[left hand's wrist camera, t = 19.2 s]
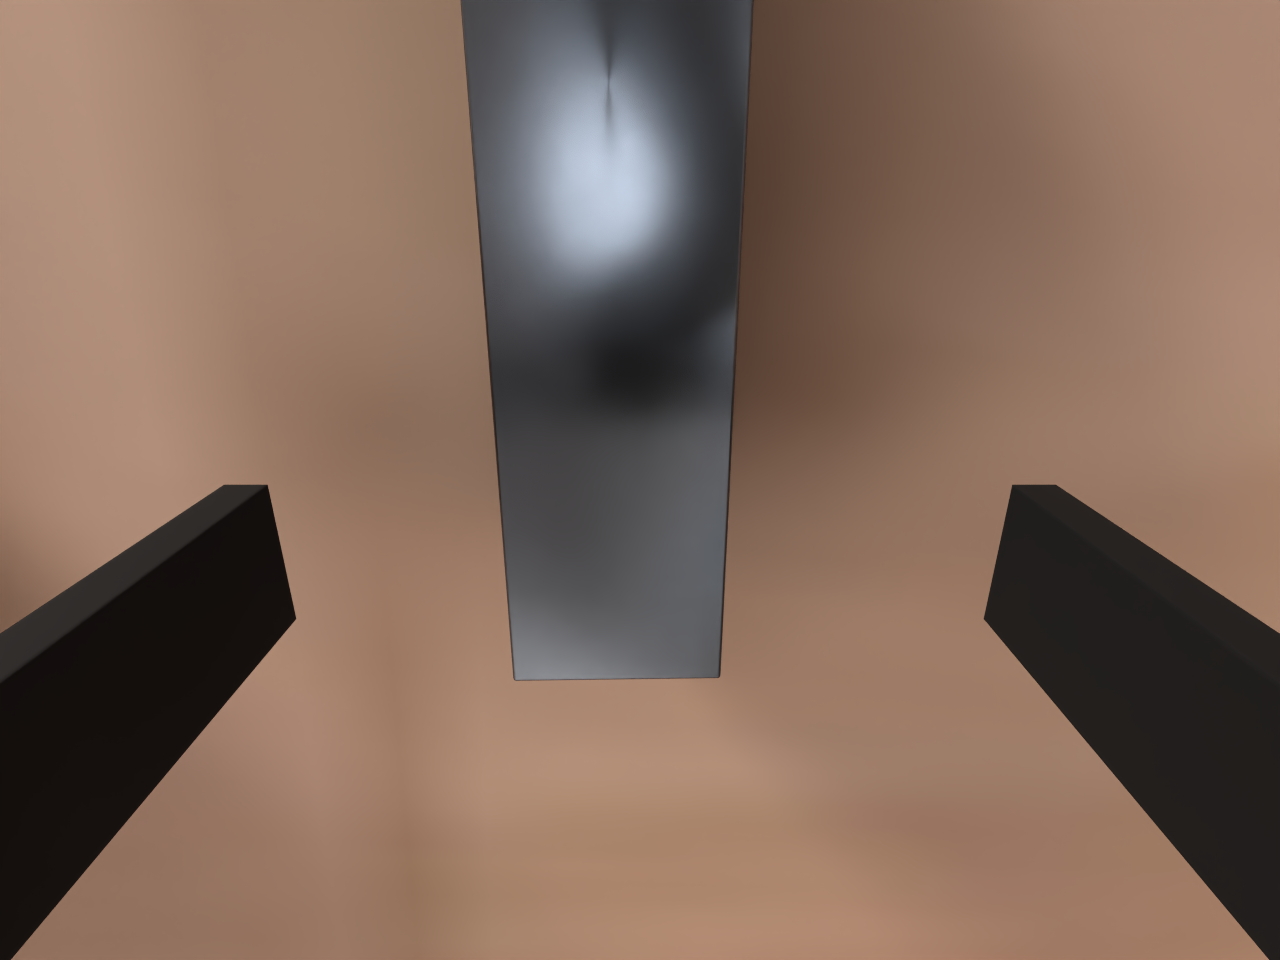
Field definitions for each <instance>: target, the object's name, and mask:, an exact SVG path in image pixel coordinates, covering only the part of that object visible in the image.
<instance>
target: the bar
mask: <svg viewBox="0 0 1280 960" xmlns="http://www.w3.org/2000/svg"><path fill="white" fill-rule="evenodd" d="M753 6H754V0H461V12H462V25H463V38H464V51H465V64H466V76H467V89H468V102H469V115H470V128H471V140H472V153H473V166H474V179H475V192H476V204H477V217H478V230H479V243H480V256H481V268H482V281H483V294H484V307H485V320H486V332H487V345H488V358H489V371H490V384H491V397H492V409H493V422H494V435H495V448H496V461H497V473H498V486H499V499H500V512H501V525H502V537H503V550H504V563H505V576H506V589H507V601H508V614H509V627H510V640H511V653H512V665H513V678H514V680H516V681H520V680H595V679H670V678H719V677H720V673H721V653H722V633H723V612H724V592H725V572H726V552H727V531H728V511H729V491H730V471H731V451H732V430H733V410H734V390H735V370H736V350H737V329H738V309H739V289H740V269H741V248H742V228H743V208H744V188H745V168H746V147H747V127H748V107H749V87H750V66H751V46H752V26H753Z"/></svg>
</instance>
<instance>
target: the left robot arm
mask: <svg viewBox="0 0 1280 960" xmlns="http://www.w3.org/2000/svg"><path fill="white" fill-rule="evenodd" d="M295 620H296V616H295V611H294V606H293V602H292V597H291V592H290V588H289V583H288V578H287V574H286V569H285V564H284V560H283V555H282V550H281V545H280V541H279V536H278V531H277V527H276V522H275V517H274V513H273V508H272V503H271V499H270V494H269V489H268V485H223V486H222V487H220V488H219V489H217V490H216V491H214V492H213V493H211V494H210V495H208V496H207V497H205V498H204V499H202V500H201V501H199V502H198V503H196V504H195V505H193V506H192V507H190V508H189V509H187V510H186V511H184V512H183V513H181V514H180V515H178V516H176V517H175V518H173V519H172V520H170V521H169V522H167V523H166V524H164V525H163V526H161V527H160V528H158V529H157V530H155V531H154V532H152V533H151V534H149V535H148V536H146V537H145V538H143V539H142V540H140V541H139V542H137V543H136V544H134V545H133V546H131V547H130V548H128V549H127V550H125V551H124V552H122V553H121V554H119V555H118V556H116V557H115V558H113V559H112V560H110V561H109V562H107V563H106V564H104V565H103V566H101V567H100V568H98V569H97V570H95V571H94V572H92V573H91V574H89V575H88V576H86V577H85V578H83V579H82V580H80V581H79V582H77V583H76V584H74V585H73V586H71V587H70V588H68V589H67V590H65V591H64V592H62V593H61V594H59V595H58V596H56V597H55V598H53V599H52V600H50V601H49V602H47V603H46V604H44V605H43V606H41V607H40V608H38V609H37V610H35V611H34V612H32V613H31V614H29V615H28V616H26V617H25V618H23V619H22V620H20V621H19V622H17V623H16V624H14V625H13V626H11V627H10V628H8V629H7V630H5V631H4V632H2V633H1V634H0V960H11V959H12V958H13V956H14V955H15V954H16V953H17V952H18V950H19V949H20V948H21V947H22V946H23V945H24V943H25V942H26V941H27V940H28V939H29V937H30V936H31V935H32V934H33V933H34V931H35V930H36V929H37V928H38V927H39V925H40V924H41V923H42V922H43V921H44V919H45V918H46V917H47V916H48V915H49V913H50V912H51V911H52V910H53V909H54V907H55V906H56V905H57V904H58V903H59V902H60V900H61V899H62V898H63V897H64V896H65V894H66V893H67V892H68V891H69V890H70V888H71V887H72V886H73V885H74V884H75V882H76V881H77V880H78V879H79V878H80V876H81V875H82V874H83V873H84V872H85V870H86V869H87V868H88V867H89V866H90V864H91V863H92V862H93V861H94V860H95V859H96V857H97V856H98V855H99V854H100V853H101V851H102V850H103V849H104V848H105V847H106V845H107V844H108V843H109V842H110V841H111V839H112V838H113V837H114V836H115V835H116V833H117V832H118V831H119V830H120V829H121V827H122V826H123V825H124V824H125V823H126V822H127V820H128V819H129V818H130V817H131V816H132V814H133V813H134V812H135V811H136V810H137V808H138V807H139V806H140V805H141V804H142V802H143V801H144V800H145V799H146V798H147V796H148V795H149V794H150V793H151V792H152V790H153V789H154V788H155V787H156V786H157V784H158V783H159V782H160V781H161V780H162V779H163V777H164V776H165V775H166V774H167V773H168V771H169V770H170V769H171V768H172V767H173V765H174V764H175V763H176V762H177V761H178V759H179V758H180V757H181V756H182V755H183V753H184V752H185V751H186V750H187V749H188V747H189V746H190V745H191V744H192V743H193V741H194V740H195V739H196V738H197V737H198V736H199V734H200V733H201V732H202V731H203V730H204V728H205V727H206V726H207V725H208V724H209V722H210V721H211V720H212V719H213V718H214V716H215V715H216V714H217V713H218V712H219V710H220V709H221V708H222V707H223V706H224V704H225V703H226V702H227V701H228V700H229V698H230V697H231V696H232V695H233V694H234V693H235V691H236V690H237V689H238V688H239V687H240V685H241V684H242V683H243V682H244V681H245V679H246V678H247V677H248V676H249V675H250V673H251V672H252V671H253V670H254V669H255V667H256V666H257V665H258V664H259V663H260V661H261V660H262V659H263V658H264V657H265V656H266V654H267V653H268V652H269V651H270V650H271V648H272V647H273V646H274V645H275V644H276V642H277V641H278V640H279V639H280V638H281V636H282V635H283V634H284V633H285V632H286V630H287V629H288V628H289V627H290V626H291V624H292V623H293V622H294V621H295ZM984 620H985V621H986V622H987V623H988V624H989V626H990V627H991V628H992V629H993V630H994V632H995V633H996V634H997V635H998V636H999V638H1000V639H1001V640H1002V641H1003V642H1004V644H1005V645H1006V646H1007V647H1008V648H1009V650H1010V651H1011V652H1012V653H1013V654H1014V656H1015V657H1016V658H1017V659H1018V660H1019V661H1020V663H1021V664H1022V665H1023V666H1024V667H1025V669H1026V670H1027V671H1028V672H1029V673H1030V675H1031V676H1032V677H1033V678H1034V679H1035V681H1036V682H1037V683H1038V684H1039V685H1040V687H1041V688H1042V689H1043V690H1044V691H1045V693H1046V694H1047V695H1048V696H1049V697H1050V698H1051V700H1052V701H1053V702H1054V703H1055V704H1056V706H1057V707H1058V708H1059V709H1060V710H1061V712H1062V713H1063V714H1064V715H1065V716H1066V718H1067V719H1068V720H1069V721H1070V722H1071V724H1072V725H1073V726H1074V727H1075V728H1076V730H1077V731H1078V732H1079V733H1080V734H1081V736H1082V737H1083V738H1084V739H1085V740H1086V741H1087V743H1088V744H1089V745H1090V746H1091V747H1092V749H1093V750H1094V751H1095V752H1096V753H1097V755H1098V756H1099V757H1100V758H1101V759H1102V761H1103V762H1104V763H1105V764H1106V765H1107V767H1108V768H1109V769H1110V770H1111V771H1112V773H1113V774H1114V775H1115V776H1116V777H1117V779H1118V780H1119V781H1120V782H1121V783H1122V784H1123V786H1124V787H1125V788H1126V789H1127V790H1128V792H1129V793H1130V794H1131V795H1132V796H1133V798H1134V799H1135V800H1136V801H1137V802H1138V804H1139V805H1140V806H1141V807H1142V808H1143V810H1144V811H1145V812H1146V813H1147V814H1148V816H1149V817H1150V818H1151V819H1152V820H1153V822H1154V823H1155V824H1156V825H1157V826H1158V827H1159V829H1160V830H1161V831H1162V832H1163V833H1164V835H1165V836H1166V837H1167V838H1168V839H1169V841H1170V842H1171V843H1172V844H1173V845H1174V847H1175V848H1176V849H1177V850H1178V851H1179V853H1180V854H1181V855H1182V856H1183V857H1184V859H1185V860H1186V861H1187V862H1188V863H1189V864H1190V866H1191V867H1192V868H1193V869H1194V870H1195V872H1196V873H1197V874H1198V875H1199V876H1200V878H1201V879H1202V880H1203V881H1204V882H1205V884H1206V885H1207V886H1208V887H1209V888H1210V890H1211V891H1212V892H1213V893H1214V894H1215V896H1216V897H1217V898H1218V899H1219V900H1220V902H1221V903H1222V904H1223V905H1224V906H1225V907H1226V909H1227V910H1228V911H1229V912H1230V913H1231V915H1232V916H1233V917H1234V918H1235V919H1236V921H1237V922H1238V923H1239V924H1240V925H1241V927H1242V928H1243V929H1244V930H1245V931H1246V933H1247V934H1248V935H1249V936H1250V937H1251V939H1252V940H1253V941H1254V942H1255V943H1256V945H1257V946H1258V947H1259V948H1260V949H1261V950H1262V952H1263V953H1264V954H1265V955H1266V956H1267V958H1268V959H1269V960H1280V633H1278V632H1276V631H1275V630H1273V629H1272V628H1270V627H1269V626H1267V625H1266V624H1264V623H1263V622H1261V621H1260V620H1258V619H1257V618H1255V617H1254V616H1252V615H1251V614H1249V613H1248V612H1246V611H1245V610H1243V609H1242V608H1240V607H1239V606H1237V605H1236V604H1234V603H1233V602H1231V601H1230V600H1228V599H1227V598H1225V597H1224V596H1222V595H1221V594H1219V593H1218V592H1216V591H1215V590H1213V589H1212V588H1210V587H1209V586H1207V585H1206V584H1204V583H1203V582H1201V581H1200V580H1198V579H1197V578H1195V577H1194V576H1192V575H1191V574H1189V573H1188V572H1186V571H1185V570H1183V569H1182V568H1180V567H1179V566H1177V565H1176V564H1174V563H1173V562H1171V561H1170V560H1168V559H1167V558H1165V557H1164V556H1162V555H1161V554H1159V553H1158V552H1156V551H1155V550H1153V549H1152V548H1150V547H1149V546H1147V545H1146V544H1144V543H1143V542H1141V541H1140V540H1138V539H1137V538H1135V537H1134V536H1132V535H1131V534H1129V533H1128V532H1126V531H1125V530H1123V529H1122V528H1120V527H1119V526H1117V525H1116V524H1114V523H1113V522H1111V521H1110V520H1108V519H1107V518H1105V517H1104V516H1102V515H1100V514H1099V513H1097V512H1096V511H1094V510H1093V509H1091V508H1090V507H1088V506H1087V505H1085V504H1084V503H1082V502H1081V501H1079V500H1078V499H1076V498H1075V497H1073V496H1072V495H1070V494H1069V493H1067V492H1066V491H1064V490H1063V489H1061V488H1060V487H1058V486H1057V485H1012V489H1011V494H1010V499H1009V503H1008V508H1007V513H1006V517H1005V522H1004V527H1003V531H1002V536H1001V541H1000V545H999V550H998V555H997V560H996V564H995V569H994V574H993V578H992V583H991V588H990V592H989V597H988V602H987V606H986V611H985V616H984Z"/></svg>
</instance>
